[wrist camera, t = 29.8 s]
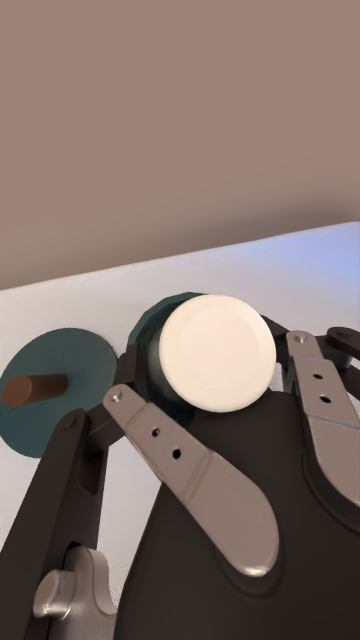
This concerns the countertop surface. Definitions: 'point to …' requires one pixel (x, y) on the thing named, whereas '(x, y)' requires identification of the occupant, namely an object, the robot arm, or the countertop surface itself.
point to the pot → (148, 340)
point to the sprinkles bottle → (217, 353)
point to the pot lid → (52, 385)
